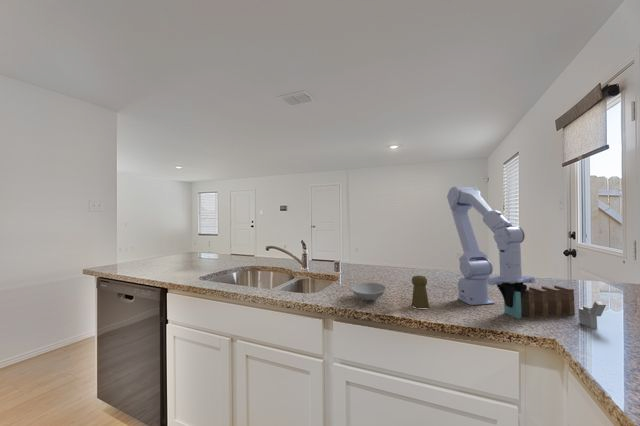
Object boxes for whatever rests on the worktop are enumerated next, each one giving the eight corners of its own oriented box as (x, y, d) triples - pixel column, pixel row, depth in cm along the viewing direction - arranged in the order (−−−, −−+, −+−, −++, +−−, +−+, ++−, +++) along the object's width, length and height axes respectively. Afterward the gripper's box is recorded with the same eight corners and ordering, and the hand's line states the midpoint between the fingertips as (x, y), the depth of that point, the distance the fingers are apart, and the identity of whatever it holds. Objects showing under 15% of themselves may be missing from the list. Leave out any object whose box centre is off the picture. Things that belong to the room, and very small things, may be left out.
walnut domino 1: (530, 317, 84) (528, 291, 85) (517, 311, 89) (516, 287, 90) (534, 317, 85) (533, 291, 85) (521, 311, 90) (520, 287, 90)
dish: (385, 308, 97) (385, 294, 97) (346, 305, 101) (346, 292, 101) (389, 294, 114) (388, 282, 114) (355, 293, 118) (354, 281, 118)
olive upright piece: (429, 304, 99) (428, 274, 99) (428, 310, 94) (427, 278, 94) (412, 303, 102) (411, 273, 102) (410, 308, 96) (409, 277, 96)
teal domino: (516, 318, 84) (515, 292, 84) (504, 312, 89) (503, 288, 89) (521, 317, 84) (520, 292, 84) (509, 312, 89) (508, 288, 89)
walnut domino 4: (570, 314, 85) (568, 289, 86) (555, 309, 90) (554, 285, 91) (574, 314, 86) (573, 289, 86) (559, 309, 91) (558, 285, 91)
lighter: (578, 322, 79) (577, 295, 80) (585, 322, 79) (584, 295, 79) (600, 332, 72) (598, 302, 73) (607, 332, 72) (605, 302, 72)
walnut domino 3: (556, 315, 85) (555, 290, 85) (542, 310, 90) (541, 286, 90) (561, 315, 85) (560, 289, 85) (547, 310, 90) (546, 285, 90)
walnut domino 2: (543, 316, 85) (542, 290, 85) (530, 311, 90) (528, 286, 90) (548, 316, 85) (547, 290, 85) (534, 310, 90) (533, 286, 90)
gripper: (497, 267, 82) (500, 311, 82) (542, 264, 84) (544, 309, 83) (482, 263, 89) (484, 304, 89) (523, 261, 91) (525, 302, 90)
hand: (512, 306), depth 87 cm, fingers closed on teal domino
